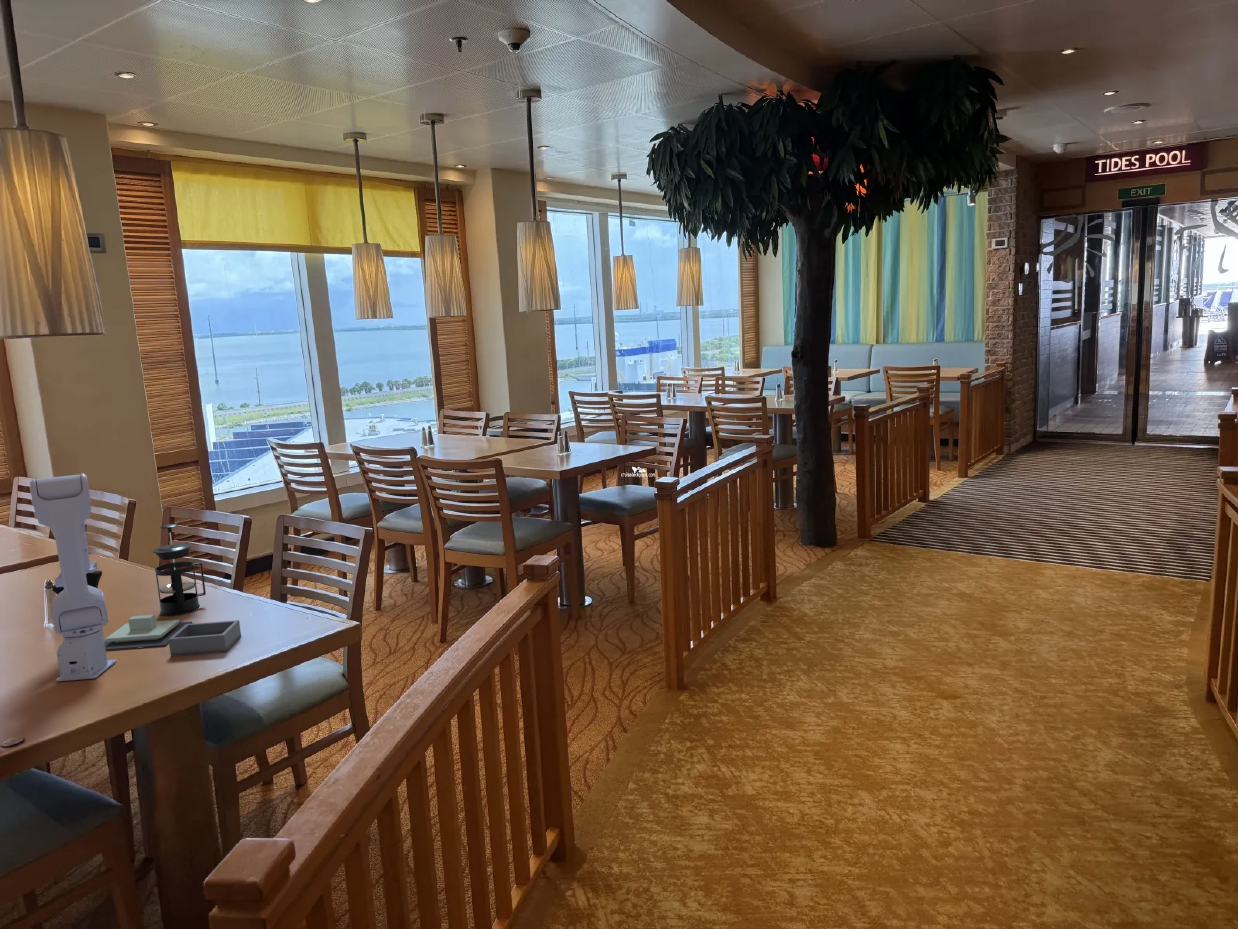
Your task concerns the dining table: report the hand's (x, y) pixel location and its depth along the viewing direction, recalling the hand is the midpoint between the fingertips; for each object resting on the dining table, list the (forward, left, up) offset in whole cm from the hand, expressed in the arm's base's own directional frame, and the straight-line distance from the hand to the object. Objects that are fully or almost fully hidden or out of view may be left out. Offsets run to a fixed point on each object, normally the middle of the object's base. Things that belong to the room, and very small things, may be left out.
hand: (82, 608), depth 198 cm
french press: (+24, -12, -10) cm, 28 cm away
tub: (-6, -29, -9) cm, 31 cm away
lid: (+4, -11, -9) cm, 15 cm away
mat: (+4, -11, -9) cm, 15 cm away
